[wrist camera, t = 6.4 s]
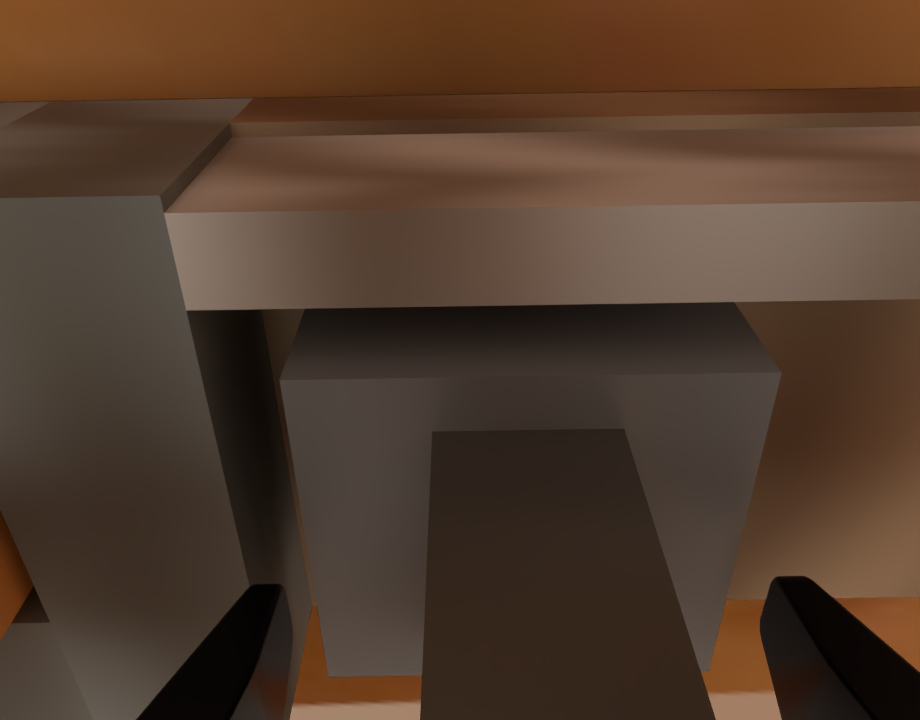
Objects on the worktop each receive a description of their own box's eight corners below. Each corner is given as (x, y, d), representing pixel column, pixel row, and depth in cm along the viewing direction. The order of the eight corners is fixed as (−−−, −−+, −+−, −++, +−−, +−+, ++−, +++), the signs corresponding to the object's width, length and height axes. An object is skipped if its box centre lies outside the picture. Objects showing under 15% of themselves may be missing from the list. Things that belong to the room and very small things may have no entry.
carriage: (350, 538, 15) (259, 1105, 8) (317, 272, 12) (127, 808, 5) (664, 534, 15) (846, 1098, 8) (709, 267, 12) (1068, 796, 5)
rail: (-30, 558, 17) (-168, 748, 14) (-252, 106, 12) (-582, 207, 8) (1140, 540, 17) (1334, 726, 13) (1428, 79, 12) (1885, 167, 8)
